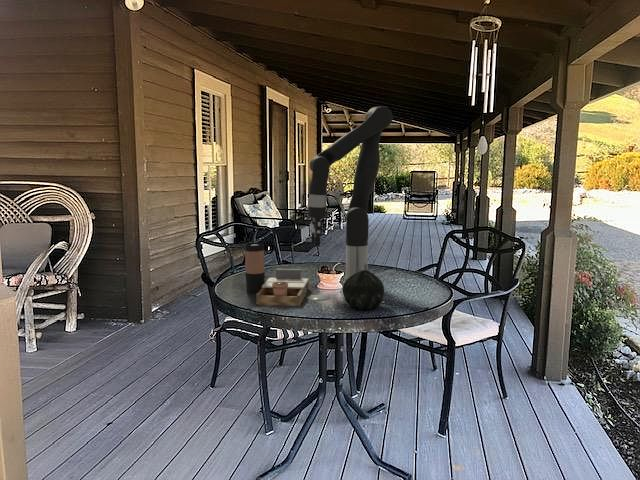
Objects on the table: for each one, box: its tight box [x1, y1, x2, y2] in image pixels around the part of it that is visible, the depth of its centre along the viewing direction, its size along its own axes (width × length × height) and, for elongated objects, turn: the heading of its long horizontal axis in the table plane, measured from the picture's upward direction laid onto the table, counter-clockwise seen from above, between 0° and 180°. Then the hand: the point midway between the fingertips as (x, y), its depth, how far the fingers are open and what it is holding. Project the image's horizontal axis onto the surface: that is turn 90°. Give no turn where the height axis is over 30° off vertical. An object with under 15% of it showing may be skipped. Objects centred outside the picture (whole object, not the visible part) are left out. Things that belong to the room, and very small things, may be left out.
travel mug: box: [244, 242, 266, 294], centre depth 203 cm, size 8×8×20 cm
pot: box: [272, 282, 288, 296], centre depth 188 cm, size 6×6×7 cm
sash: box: [262, 268, 309, 289], centre depth 199 cm, size 16×14×4 cm
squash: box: [342, 270, 385, 311], centre depth 182 cm, size 14×15×15 cm
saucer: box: [306, 294, 331, 302], centre depth 193 cm, size 9×9×1 cm
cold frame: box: [255, 279, 310, 307], centre depth 195 cm, size 16×24×5 cm, turn 174°
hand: (315, 244), depth 209 cm, fingers open, 8 cm apart
